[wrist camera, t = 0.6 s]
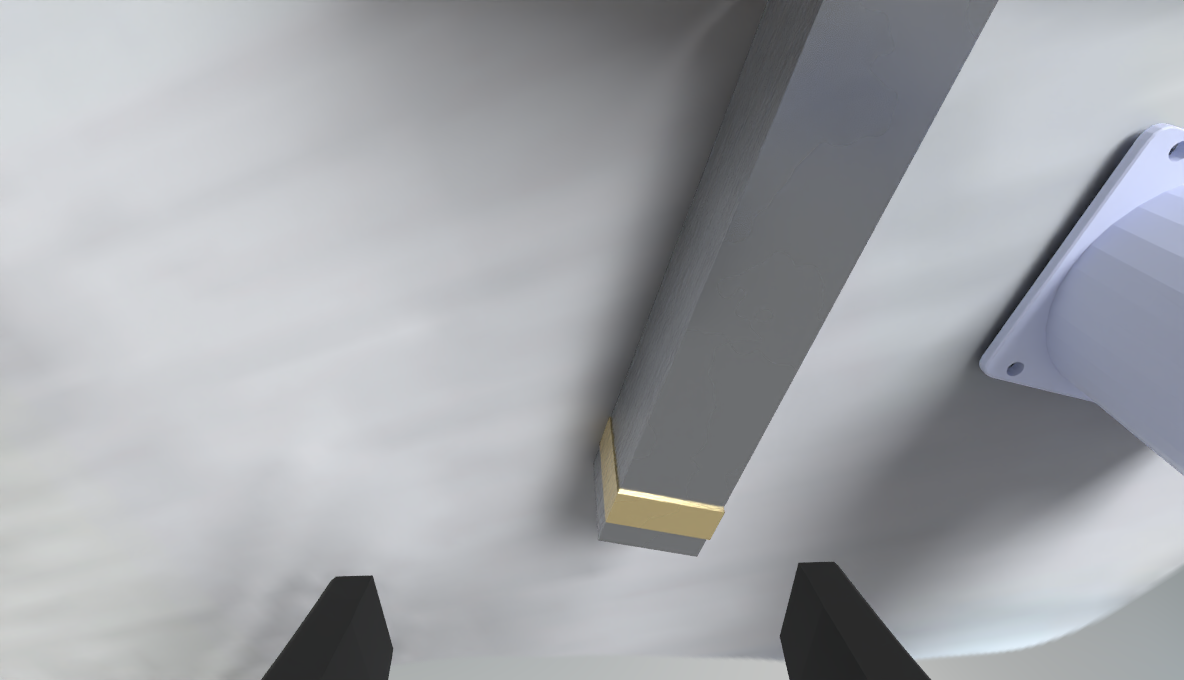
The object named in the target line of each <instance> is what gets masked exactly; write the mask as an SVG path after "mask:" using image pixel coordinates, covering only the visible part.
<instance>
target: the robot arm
mask: <svg viewBox="0 0 1184 680" xmlns="http://www.w3.org/2000/svg"><path fill="white" fill-rule="evenodd" d="M1175 144H1177V147H1176V149H1175V151H1173V152H1172V153H1171V154H1170V155H1169V152H1170V150H1171V148H1172V147H1173V146H1174V145H1175ZM1013 363H1015V364H1014V365H1013V366H1012V367H1010V368H1008V367H1009V366H1010V365H1011V364H1013ZM979 367H980V368H981V370H982V371H983V372H984V373H985V374H986V375H987V376H989V377H991V378H995V379H999V380H1003V381H1007V382H1012V383H1016V384H1020V385H1024V386H1028V387H1032V388H1037V389H1041V390H1045V391H1049V392H1053V393H1057V394H1062V395H1066V396H1070V397H1074V398H1078V399H1082V400H1087V401H1091V402H1095V403H1096V404H1097V405H1099V406H1100V407H1101V408H1102V409H1103V410H1105V411H1106V412H1107V413H1108V414H1109V415H1111V416H1112V417H1113V418H1114V419H1116V420H1117V421H1118V422H1119V423H1120V424H1122V425H1123V426H1124V427H1125V428H1126V429H1128V430H1129V431H1130V432H1131V433H1133V434H1134V435H1135V436H1136V437H1137V438H1139V439H1140V440H1141V441H1142V442H1143V443H1145V444H1146V445H1147V446H1148V447H1149V448H1151V449H1152V450H1153V451H1154V452H1156V453H1157V454H1158V455H1159V456H1160V457H1162V458H1163V459H1164V460H1165V461H1166V462H1168V463H1169V464H1170V465H1171V466H1172V467H1174V468H1175V469H1176V470H1177V471H1179V472H1180V473H1181V474H1182V475H1183V476H1184V129H1183V128H1180V127H1177V126H1173V125H1169V124H1163V123H1159V124H1156V125H1153V126H1151V127H1149V128H1148V129H1146V130H1145V131H1143V132H1142V134H1141V135H1140V136H1139V137H1138V138H1137V139H1136V141H1135V142H1134V144H1133V145H1132V146H1131V148H1130V149H1129V151H1128V152H1127V153H1126V155H1125V156H1124V158H1123V159H1122V160H1121V162H1120V163H1119V165H1118V166H1117V167H1116V169H1115V170H1114V172H1113V173H1112V174H1111V176H1110V177H1109V179H1108V180H1107V181H1106V183H1105V184H1104V186H1103V187H1102V188H1101V190H1100V191H1099V193H1098V194H1097V196H1096V197H1095V198H1094V200H1093V201H1092V203H1091V204H1090V205H1089V207H1088V208H1087V210H1086V211H1085V212H1084V214H1083V215H1082V217H1081V218H1080V219H1079V221H1078V222H1077V224H1076V225H1075V226H1074V228H1073V229H1072V231H1071V232H1070V233H1069V235H1068V236H1067V238H1066V239H1065V240H1064V242H1063V243H1062V245H1061V246H1060V247H1059V249H1058V250H1057V252H1056V253H1055V254H1054V256H1053V257H1052V259H1051V260H1050V261H1049V263H1048V264H1047V266H1046V267H1045V268H1044V270H1043V271H1042V273H1041V274H1040V276H1039V277H1038V278H1037V280H1036V281H1035V283H1034V284H1033V285H1032V287H1031V288H1030V290H1029V291H1028V292H1027V294H1026V295H1025V297H1024V298H1023V299H1022V301H1021V302H1020V304H1019V305H1018V306H1017V308H1016V309H1015V311H1014V312H1013V313H1012V315H1011V316H1010V318H1009V319H1008V320H1007V322H1006V323H1005V325H1004V326H1003V327H1002V329H1001V330H1000V332H999V333H998V334H997V336H996V337H995V339H994V340H993V341H992V343H991V344H990V346H989V347H988V349H987V350H986V351H985V353H984V354H983V356H982V357H981V359H980V361H979ZM780 639H781V643H782V648H783V653H784V657H785V662H786V666H787V671H788V675H789V679H790V680H931V679H930V678H929V677H928V676H927V675H926V673H925V672H924V671H923V670H922V669H921V667H920V666H919V665H918V664H917V663H916V662H915V661H914V659H913V658H912V657H911V656H910V655H909V653H908V652H907V651H906V650H905V649H904V647H903V646H902V645H901V644H900V643H899V641H898V640H897V639H896V638H895V636H894V635H893V634H892V633H891V632H890V630H889V629H888V628H887V627H886V625H885V624H884V623H883V622H882V620H881V619H880V618H879V617H878V616H877V614H876V613H875V612H874V611H873V609H872V608H871V607H870V606H869V604H868V603H867V602H866V600H865V599H864V598H863V597H862V595H861V594H860V593H859V592H858V590H857V589H856V588H855V586H854V585H853V584H852V583H851V581H850V580H849V579H848V577H847V576H846V575H845V574H844V572H843V571H842V570H841V569H840V567H839V566H838V565H837V564H836V563H835V562H811V563H798V567H797V571H796V575H795V579H794V583H793V587H792V591H791V595H790V599H789V602H788V606H787V610H786V614H785V618H784V622H783V626H782V630H781V634H780ZM392 653H393V647H392V643H391V640H390V636H389V632H388V629H387V625H386V622H385V618H384V614H383V611H382V607H381V604H380V600H379V597H378V593H377V589H376V586H375V582H374V579H373V576H341V577H335V578H334V579H333V580H332V581H331V582H330V583H329V585H328V586H327V587H326V589H325V590H324V592H323V593H322V595H321V596H320V598H319V599H318V601H317V602H316V604H315V605H314V607H313V608H312V609H311V611H310V612H309V614H308V615H307V617H306V618H305V620H304V621H303V623H302V624H301V625H300V627H299V628H298V630H297V631H296V632H295V634H294V635H293V637H292V638H291V640H290V641H289V642H288V644H287V645H286V647H285V648H284V649H283V651H282V652H281V653H280V655H279V656H278V658H277V659H276V660H275V662H274V663H273V665H272V666H271V667H270V669H269V670H268V671H267V673H266V674H265V675H264V677H263V678H262V679H261V680H388V676H389V671H390V665H391V659H392Z"/></svg>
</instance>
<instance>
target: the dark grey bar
mask: <svg viewBox="0 0 1184 680" xmlns="http://www.w3.org/2000/svg"><path fill="white" fill-rule="evenodd" d="M997 2H998V0H768V2H767V5H766V7H765V10H764V13H763V15H762V18H761V21H760V23H759V26H758V29H757V31H756V34H755V36H754V39H753V42H752V44H751V47H750V50H749V52H748V55H747V58H746V60H745V63H744V66H743V68H742V71H741V74H740V76H739V79H738V82H737V84H736V87H735V90H734V92H733V95H732V98H731V100H730V103H729V105H728V108H727V111H726V113H725V116H724V119H723V121H722V124H721V127H720V129H719V132H718V135H717V137H716V140H715V143H714V145H713V148H712V151H711V153H710V156H709V159H708V161H707V164H706V166H705V169H704V172H703V174H702V177H701V180H700V182H699V185H698V188H697V190H696V193H695V196H694V198H693V201H692V204H691V206H690V209H689V212H688V214H687V217H686V220H685V222H684V225H683V228H682V230H681V233H680V235H679V238H678V241H677V243H676V246H675V249H674V251H673V254H672V257H671V259H670V262H669V265H668V267H667V270H666V273H665V275H664V278H663V281H662V283H661V286H660V289H659V291H658V294H657V297H656V299H655V302H654V304H653V307H652V310H651V312H650V315H649V318H648V320H647V323H646V326H645V328H644V331H643V334H642V336H641V339H640V342H639V344H638V347H637V350H636V352H635V355H634V358H633V360H632V363H631V366H630V368H629V371H628V373H627V376H626V379H625V381H624V384H623V387H622V389H621V392H620V395H619V397H618V400H617V403H616V405H615V408H614V411H613V413H612V416H611V417H609V420H608V422H607V425H606V428H605V430H604V433H603V436H602V438H601V441H600V444H599V445H600V448H599V450H598V453H597V456H596V458H595V461H594V478H595V494H596V510H597V525H598V540H599V541H605V542H611V543H617V544H623V545H630V546H636V547H642V548H648V549H654V550H660V551H666V552H672V553H678V554H684V555H690V556H698V554H699V552H700V550H701V548H702V547H703V545H704V543H705V541H706V539H707V540H710V539H711V537H712V535H713V533H714V531H715V530H716V528H717V526H718V524H719V522H720V520H721V519H722V517H723V515H724V513H725V512H724V506H725V504H726V502H727V500H728V499H729V497H730V495H731V493H732V491H733V489H734V487H735V486H736V484H737V482H738V480H739V478H740V476H741V475H742V473H743V471H744V469H745V467H746V465H747V463H748V462H749V460H750V458H751V456H752V454H753V452H754V451H755V449H756V447H757V445H758V443H759V441H760V439H761V438H762V436H763V434H764V432H765V430H766V428H767V427H768V425H769V423H770V421H771V419H772V417H773V415H774V414H775V412H776V410H777V408H778V406H779V404H780V403H781V401H782V399H783V397H784V395H785V393H786V391H787V390H788V388H789V386H790V384H791V382H792V380H793V379H794V377H795V375H796V373H797V371H798V369H799V367H800V366H801V364H802V362H803V360H804V358H805V356H806V355H807V353H808V351H809V349H810V347H811V345H812V343H813V342H814V340H815V338H816V336H817V334H818V332H819V331H820V329H821V327H822V325H823V323H824V321H825V319H826V318H827V316H828V314H829V312H830V310H831V308H832V307H833V305H834V303H835V301H836V299H837V297H838V295H839V294H840V292H841V290H842V288H843V286H844V284H845V283H846V281H847V279H848V277H849V275H850V273H851V271H852V270H853V268H854V266H855V264H856V262H857V260H858V259H859V257H860V255H861V253H862V251H863V249H864V247H865V246H866V244H867V242H868V240H869V238H870V236H871V235H872V233H873V231H874V229H875V227H876V225H877V223H878V222H879V220H880V218H881V216H882V214H883V212H884V211H885V209H886V207H887V205H888V203H889V201H890V199H891V198H892V196H893V194H894V192H895V190H896V188H897V187H898V185H899V183H900V181H901V179H902V177H903V175H904V174H905V172H906V170H907V168H908V166H909V164H910V163H911V161H912V159H913V157H914V155H915V153H916V151H917V150H918V148H919V146H920V144H921V142H922V140H923V139H924V137H925V135H926V133H927V131H928V129H929V127H930V126H931V124H932V122H933V120H934V118H935V116H936V115H937V113H938V111H939V109H940V107H941V105H942V103H943V102H944V100H945V98H946V96H947V94H948V92H949V91H950V89H951V87H952V85H953V83H954V81H955V79H956V78H957V76H958V74H959V72H960V70H961V68H962V67H963V65H964V63H965V61H966V59H967V57H968V55H969V54H970V52H971V50H972V48H973V46H974V44H975V43H976V41H977V39H978V37H979V35H980V33H981V31H982V30H983V28H984V26H985V24H986V22H987V20H988V19H989V17H990V15H991V13H992V11H993V9H994V7H995V6H996V4H997Z"/></svg>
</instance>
